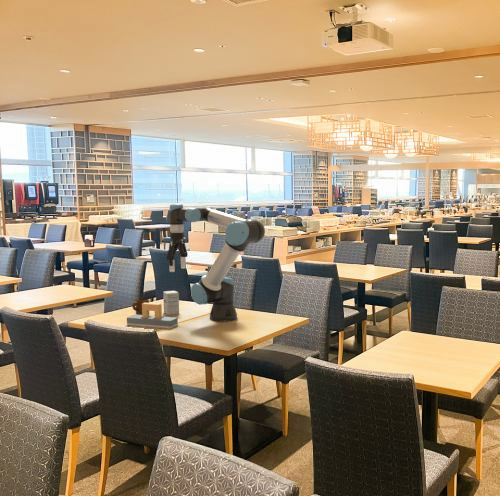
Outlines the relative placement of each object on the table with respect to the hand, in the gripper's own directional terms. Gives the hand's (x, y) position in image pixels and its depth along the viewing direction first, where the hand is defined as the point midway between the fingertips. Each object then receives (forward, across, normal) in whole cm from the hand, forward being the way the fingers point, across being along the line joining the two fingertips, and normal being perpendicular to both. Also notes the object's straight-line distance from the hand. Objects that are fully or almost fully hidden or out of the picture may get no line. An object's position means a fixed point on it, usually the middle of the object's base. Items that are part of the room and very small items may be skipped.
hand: (177, 270), depth 317 cm
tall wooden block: (+26, +21, -5) cm, 34 cm away
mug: (+27, +5, -22) cm, 35 cm away
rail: (+27, +21, -5) cm, 34 cm away
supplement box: (+27, -8, -9) cm, 30 cm away
